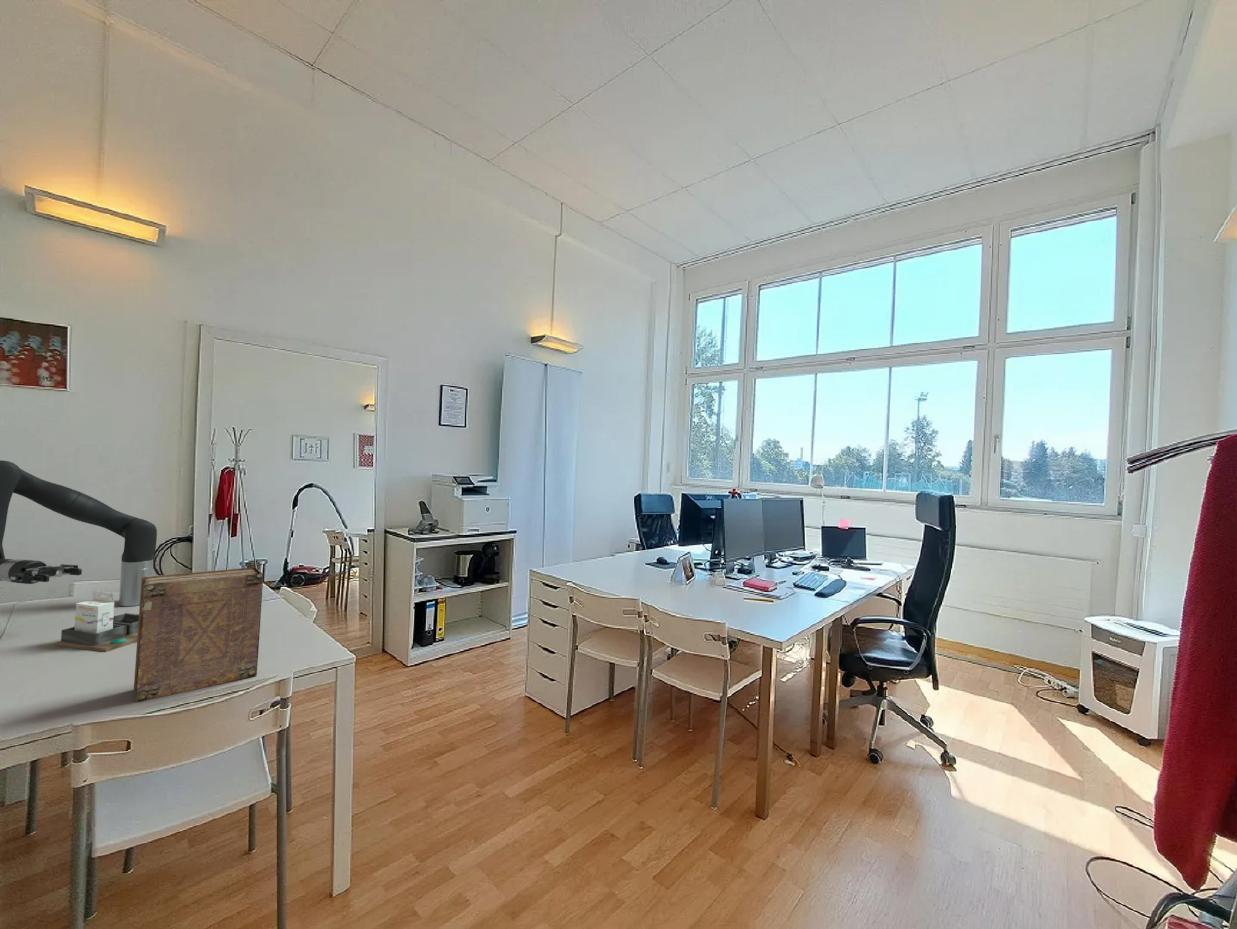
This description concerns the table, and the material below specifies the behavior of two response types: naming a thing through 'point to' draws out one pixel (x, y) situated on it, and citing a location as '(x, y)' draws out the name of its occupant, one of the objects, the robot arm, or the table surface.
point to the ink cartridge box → (95, 613)
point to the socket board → (104, 635)
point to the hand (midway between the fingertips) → (64, 575)
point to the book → (197, 630)
